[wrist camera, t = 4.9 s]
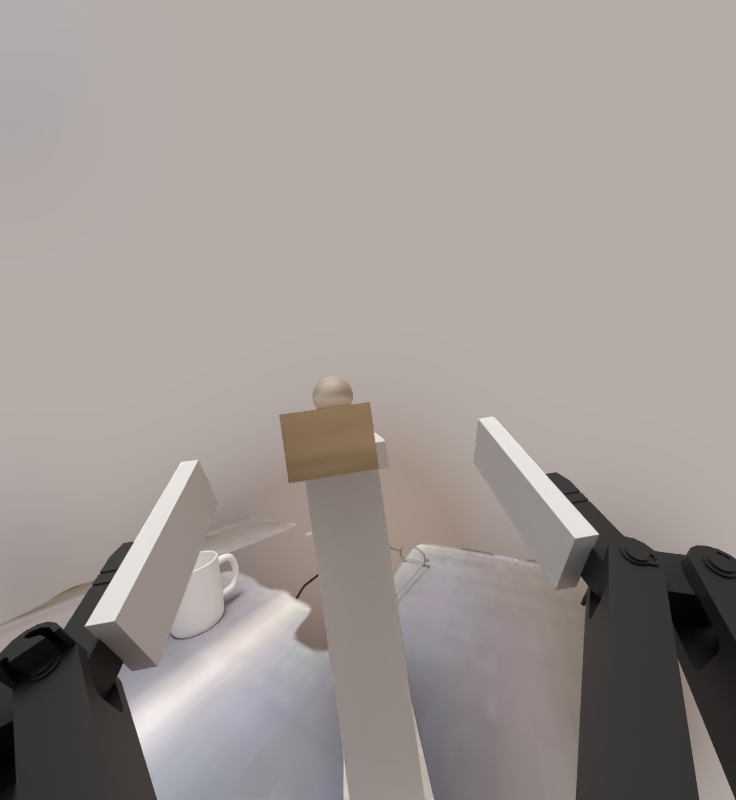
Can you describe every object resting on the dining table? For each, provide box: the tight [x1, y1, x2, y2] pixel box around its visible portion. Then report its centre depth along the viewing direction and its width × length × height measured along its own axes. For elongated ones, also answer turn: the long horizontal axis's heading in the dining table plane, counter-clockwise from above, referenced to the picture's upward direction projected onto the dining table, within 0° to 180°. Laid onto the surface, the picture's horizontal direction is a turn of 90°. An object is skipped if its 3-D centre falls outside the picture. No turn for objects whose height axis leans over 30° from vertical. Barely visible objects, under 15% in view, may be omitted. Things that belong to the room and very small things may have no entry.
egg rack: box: [280, 376, 379, 483], centre depth 26 cm, size 24×4×6 cm, turn 5°
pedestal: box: [293, 432, 434, 800], centre depth 30 cm, size 15×7×30 cm, turn 5°
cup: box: [170, 551, 239, 639], centre depth 55 cm, size 8×12×10 cm
